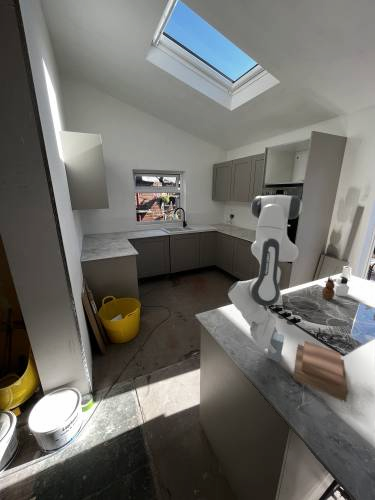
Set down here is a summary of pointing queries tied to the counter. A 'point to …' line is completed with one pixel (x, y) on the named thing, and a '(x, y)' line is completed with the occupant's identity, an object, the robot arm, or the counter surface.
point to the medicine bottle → (341, 286)
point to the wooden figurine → (328, 290)
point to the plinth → (319, 380)
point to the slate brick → (276, 346)
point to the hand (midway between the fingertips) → (276, 344)
